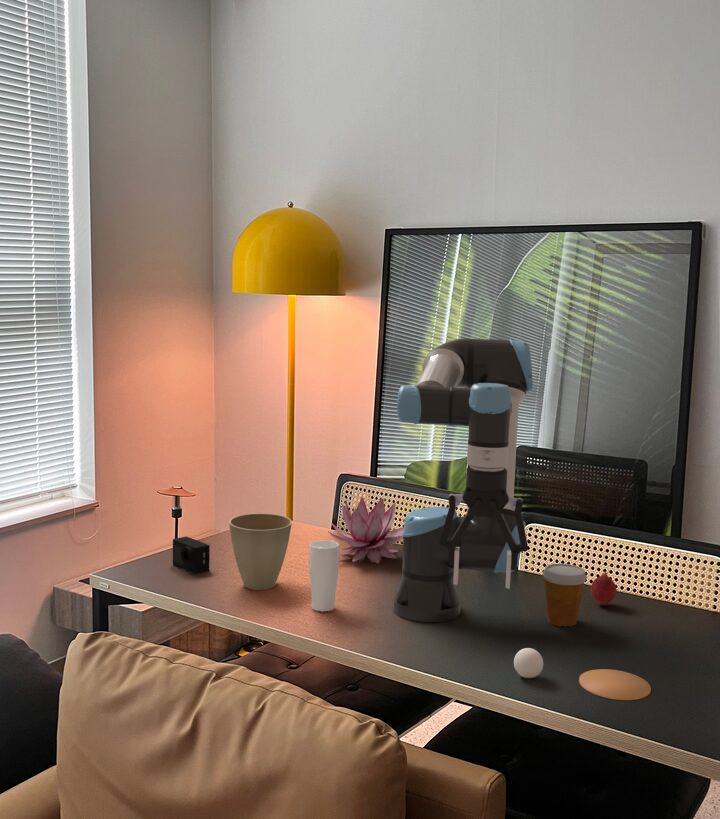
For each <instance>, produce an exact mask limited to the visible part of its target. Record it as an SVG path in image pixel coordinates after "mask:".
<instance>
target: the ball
mask: <svg viewBox="0 0 720 819" xmlns="http://www.w3.org/2000/svg"><path fill="white" fill-rule="evenodd" d="M513 658H514V659H513V666H514V669H515V671H516V672H517V673H518V675H519V676H521V677H523V678H525V679H533V678H536V677H538V675H540V674H541V673H542V670H543V667H544V659H543V656H542V655H541V654H540V652H538V651H537V650H536V649H534V648H531V647H525V648H522V649H519V651H517V653H516V654H515V656H514V657H513Z"/></svg>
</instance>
